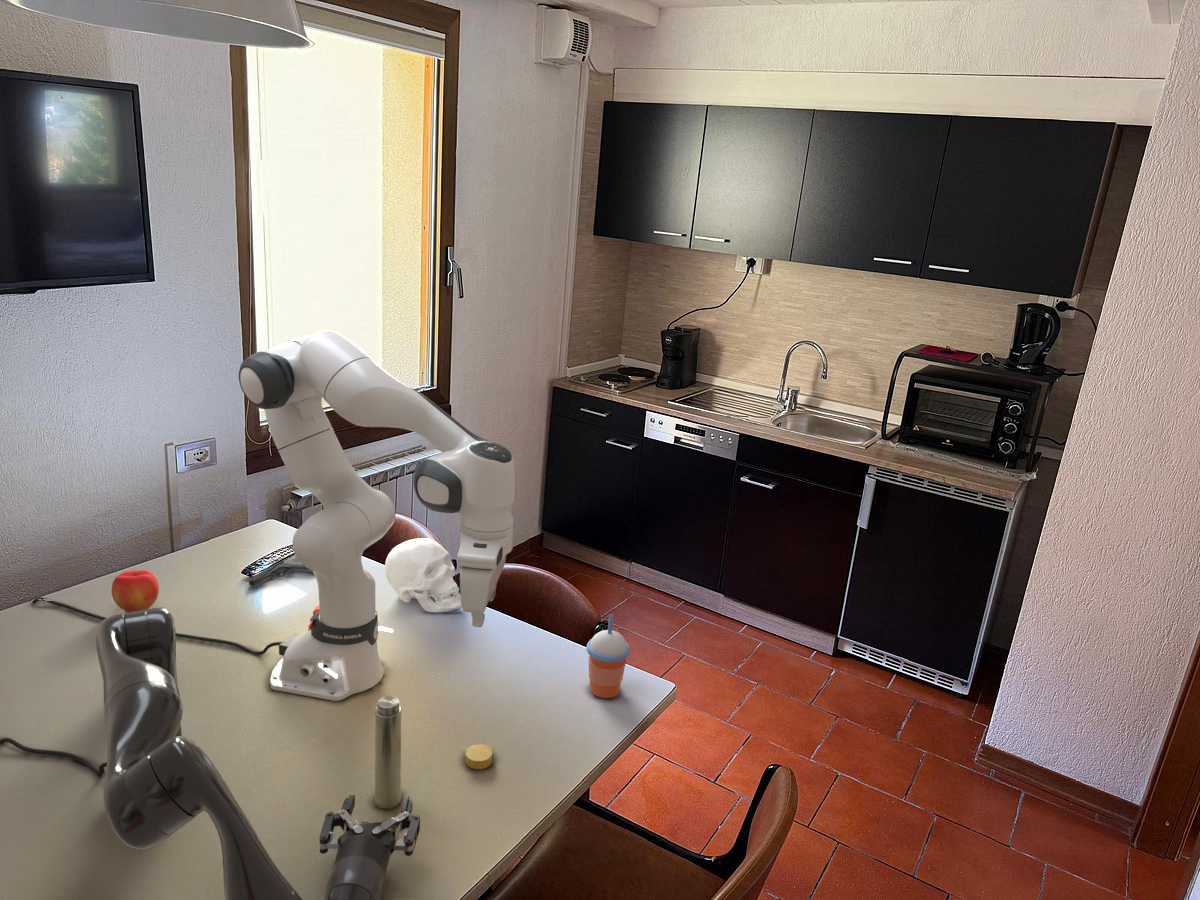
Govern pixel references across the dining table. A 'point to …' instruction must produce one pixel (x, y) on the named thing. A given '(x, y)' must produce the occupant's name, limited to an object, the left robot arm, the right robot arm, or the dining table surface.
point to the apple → (135, 590)
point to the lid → (478, 756)
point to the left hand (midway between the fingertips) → (379, 799)
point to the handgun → (278, 571)
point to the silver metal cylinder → (388, 752)
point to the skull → (423, 574)
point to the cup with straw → (607, 661)
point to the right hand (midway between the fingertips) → (483, 611)
